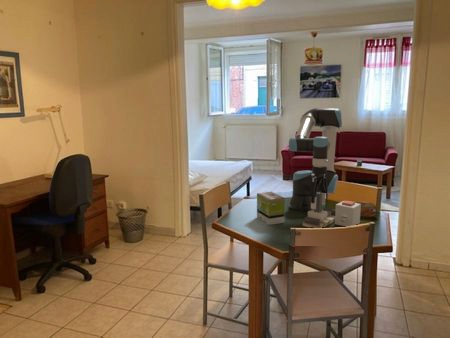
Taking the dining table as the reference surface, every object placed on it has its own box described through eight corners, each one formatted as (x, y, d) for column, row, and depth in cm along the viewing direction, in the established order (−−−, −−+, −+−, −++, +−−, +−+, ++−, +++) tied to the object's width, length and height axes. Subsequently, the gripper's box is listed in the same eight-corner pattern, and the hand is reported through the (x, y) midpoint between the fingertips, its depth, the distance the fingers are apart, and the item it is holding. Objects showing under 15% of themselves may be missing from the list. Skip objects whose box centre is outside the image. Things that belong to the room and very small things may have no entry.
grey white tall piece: (321, 223, 206) (322, 196, 203) (307, 220, 211) (308, 193, 208) (327, 220, 211) (328, 193, 208) (313, 217, 216) (314, 191, 213)
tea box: (256, 217, 224) (256, 192, 221) (271, 215, 228) (271, 191, 225) (268, 225, 210) (269, 199, 208) (284, 222, 214) (285, 197, 212)
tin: (349, 215, 228) (350, 201, 227) (349, 213, 231) (350, 199, 230) (376, 217, 223) (377, 203, 221) (376, 216, 226) (377, 202, 224)
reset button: (341, 207, 211) (342, 202, 210) (345, 205, 215) (345, 200, 214) (350, 209, 208) (351, 203, 207) (354, 207, 211) (354, 202, 211)
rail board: (319, 229, 203) (320, 220, 202) (302, 225, 209) (302, 216, 208) (339, 218, 221) (339, 210, 220) (322, 215, 227) (323, 207, 226)
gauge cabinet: (334, 224, 212) (335, 204, 210) (342, 219, 220) (343, 200, 218) (352, 228, 205) (353, 208, 203) (359, 223, 213) (360, 203, 211)
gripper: (316, 169, 195) (314, 212, 199) (335, 164, 211) (333, 203, 216) (303, 168, 199) (301, 209, 204) (322, 162, 216) (321, 201, 220)
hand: (317, 206), depth 210 cm, fingers open, 10 cm apart
